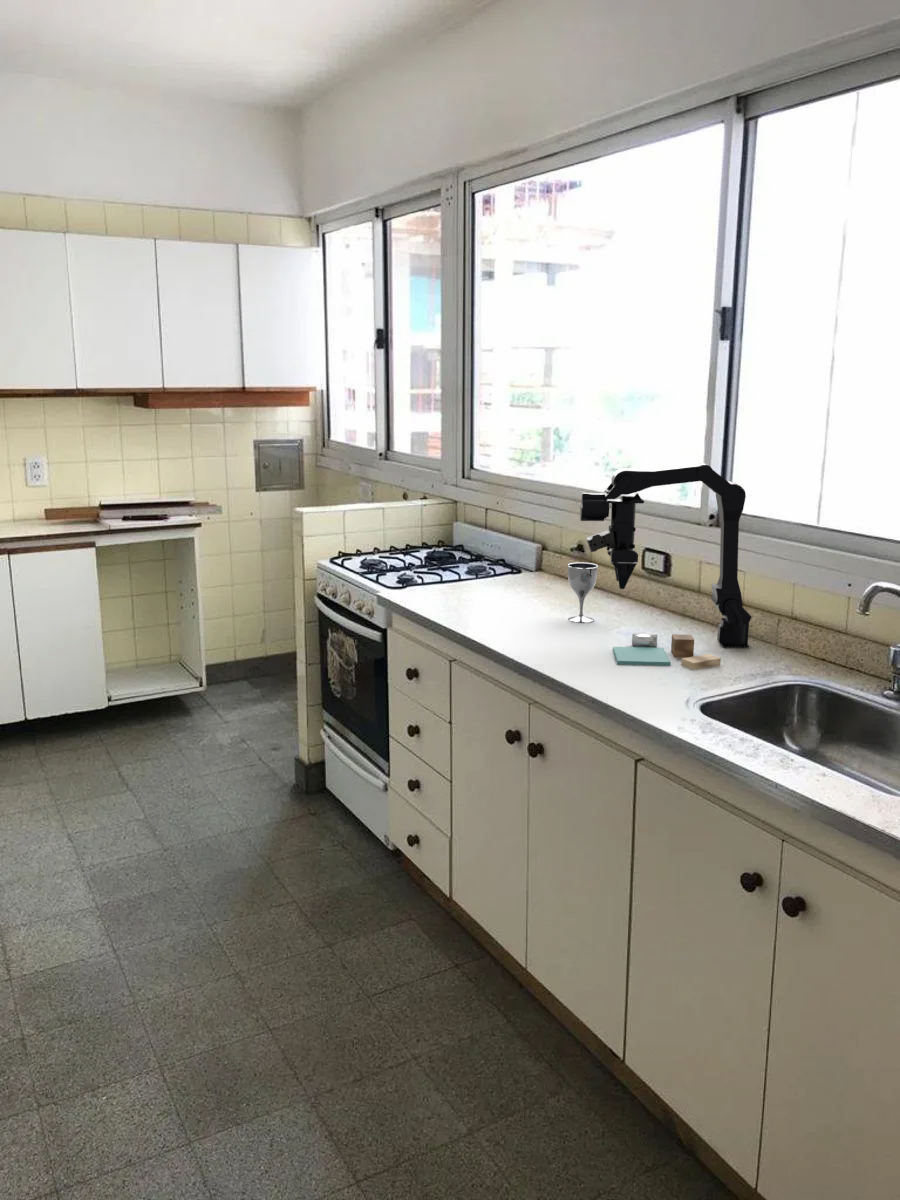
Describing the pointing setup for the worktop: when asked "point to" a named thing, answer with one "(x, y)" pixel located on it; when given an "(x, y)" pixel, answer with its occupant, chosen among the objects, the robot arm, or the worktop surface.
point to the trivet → (641, 656)
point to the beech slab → (700, 661)
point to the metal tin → (644, 639)
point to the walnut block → (682, 646)
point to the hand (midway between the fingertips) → (620, 584)
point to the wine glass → (582, 585)
